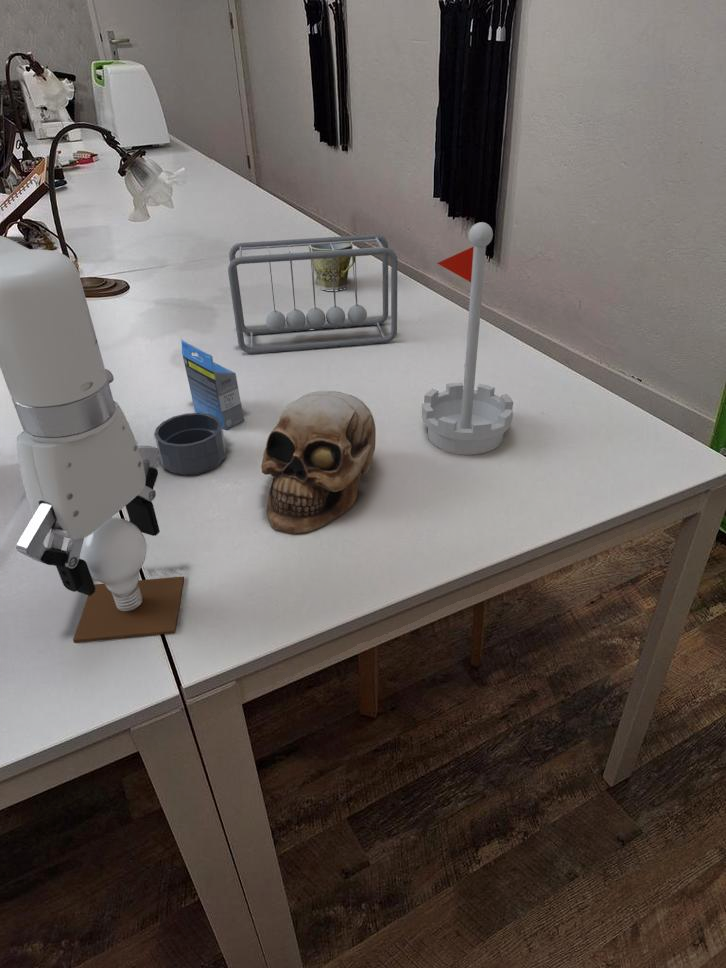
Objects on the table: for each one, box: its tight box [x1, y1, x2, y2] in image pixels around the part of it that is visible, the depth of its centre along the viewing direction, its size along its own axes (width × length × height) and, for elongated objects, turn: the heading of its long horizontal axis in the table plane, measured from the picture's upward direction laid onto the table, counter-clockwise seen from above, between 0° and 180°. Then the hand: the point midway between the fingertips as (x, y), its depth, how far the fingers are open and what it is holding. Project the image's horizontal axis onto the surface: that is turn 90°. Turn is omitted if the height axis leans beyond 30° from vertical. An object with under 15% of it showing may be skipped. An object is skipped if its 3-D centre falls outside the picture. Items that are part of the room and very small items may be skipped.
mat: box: [72, 576, 185, 644], centre depth 69 cm, size 10×8×1 cm
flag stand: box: [421, 221, 514, 456], centre depth 88 cm, size 13×13×30 cm
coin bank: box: [260, 390, 377, 535], centre depth 83 cm, size 16×17×13 cm
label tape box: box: [180, 338, 245, 430], centre depth 99 cm, size 9×4×12 cm, turn 44°
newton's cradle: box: [227, 233, 399, 355], centre depth 123 cm, size 30×10×18 cm, turn 98°
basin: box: [153, 412, 227, 476], centre depth 91 cm, size 9×9×5 cm
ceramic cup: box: [308, 243, 355, 291], centre depth 149 cm, size 13×10×10 cm
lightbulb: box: [79, 517, 148, 611], centre depth 66 cm, size 6×6×11 cm
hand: (115, 559), depth 65 cm, fingers open, 9 cm apart
